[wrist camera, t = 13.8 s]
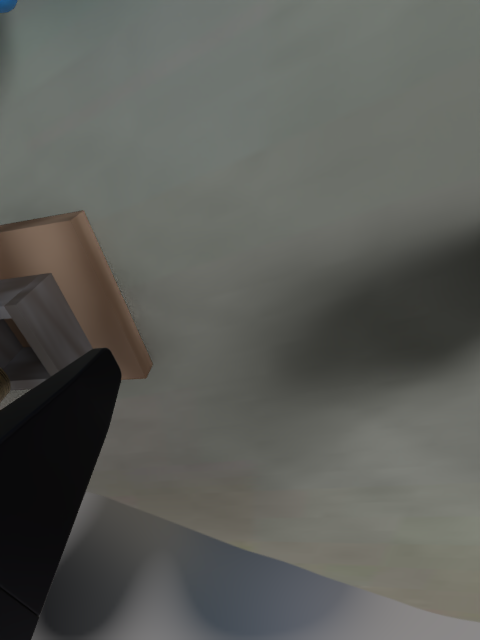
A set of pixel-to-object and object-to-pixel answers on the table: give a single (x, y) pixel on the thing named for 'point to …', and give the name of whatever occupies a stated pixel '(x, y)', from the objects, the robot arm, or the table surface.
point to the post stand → (60, 302)
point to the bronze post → (4, 384)
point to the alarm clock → (7, 5)
